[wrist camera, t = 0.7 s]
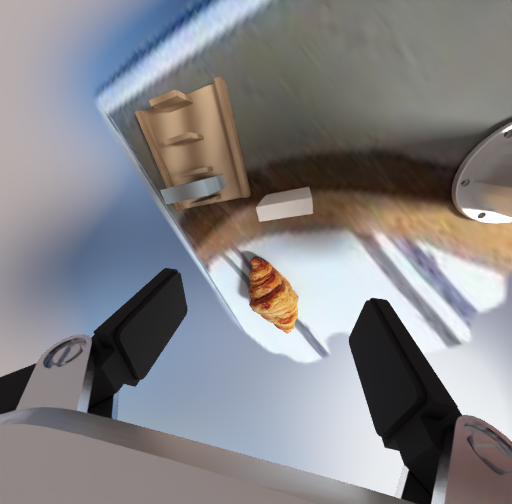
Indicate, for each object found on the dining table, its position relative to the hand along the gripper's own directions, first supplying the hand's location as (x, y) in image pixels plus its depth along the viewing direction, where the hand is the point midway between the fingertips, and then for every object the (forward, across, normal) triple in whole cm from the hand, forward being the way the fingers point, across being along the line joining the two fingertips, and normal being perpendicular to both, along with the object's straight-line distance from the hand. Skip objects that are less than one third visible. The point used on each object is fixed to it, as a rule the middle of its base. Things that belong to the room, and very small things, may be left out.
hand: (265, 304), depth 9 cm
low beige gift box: (+24, -1, -1) cm, 24 cm away
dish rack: (+24, +14, -6) cm, 29 cm away
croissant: (+25, 0, +20) cm, 32 cm away
